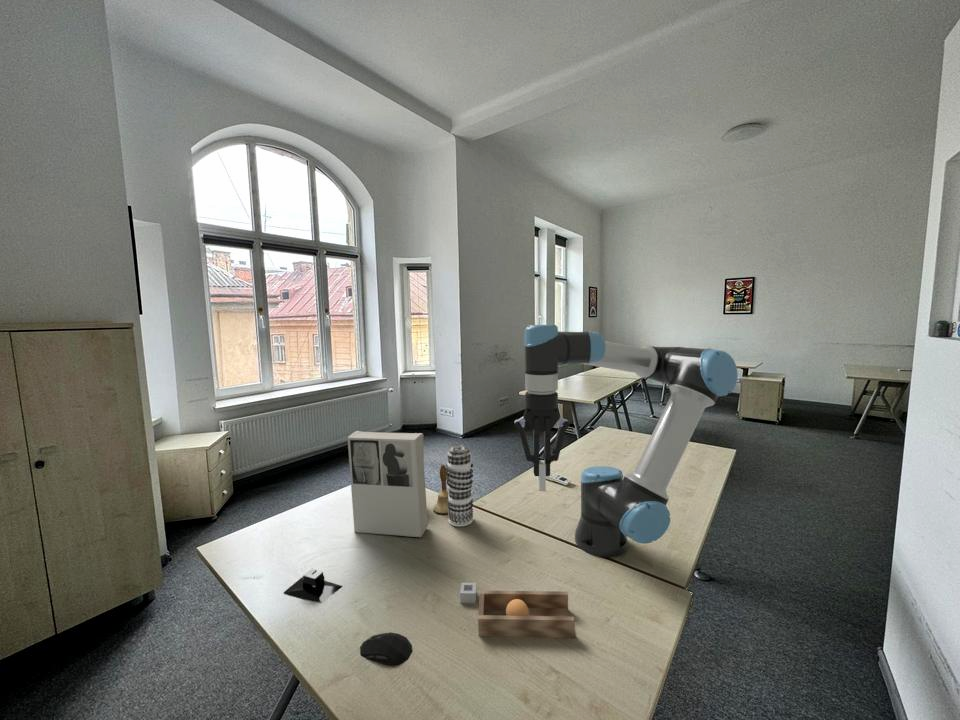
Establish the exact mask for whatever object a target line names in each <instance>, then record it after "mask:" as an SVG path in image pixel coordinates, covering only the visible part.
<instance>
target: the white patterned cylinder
mask: <svg viewBox="0 0 960 720" xmlns="http://www.w3.org/2000/svg"><path fill="white" fill-rule="evenodd" d="M471 454H472V451H471V450H470V449H469V447H467V446H465V445H455V446H451V448H450V449H449V450H447V452H446V455H447V463H446V464H445V468H446V474H447V476H446V477H447V478H446V488H447V490H448V491H449V495H448V496H449V499H448V513H447V518H448V523H449V524H450V525H451V526H453V527H457V528H458V527H466V526H469V525H470V524H472V523H473V521H474V508H473V507H474V504H473V503H474V498H473V494H472V488H473V482H474V480H473V479H472V478H473V477H474V474H473V473H474V470H473V469H472V468H473V467H474V464H473V463H472V459H471Z"/></svg>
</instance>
